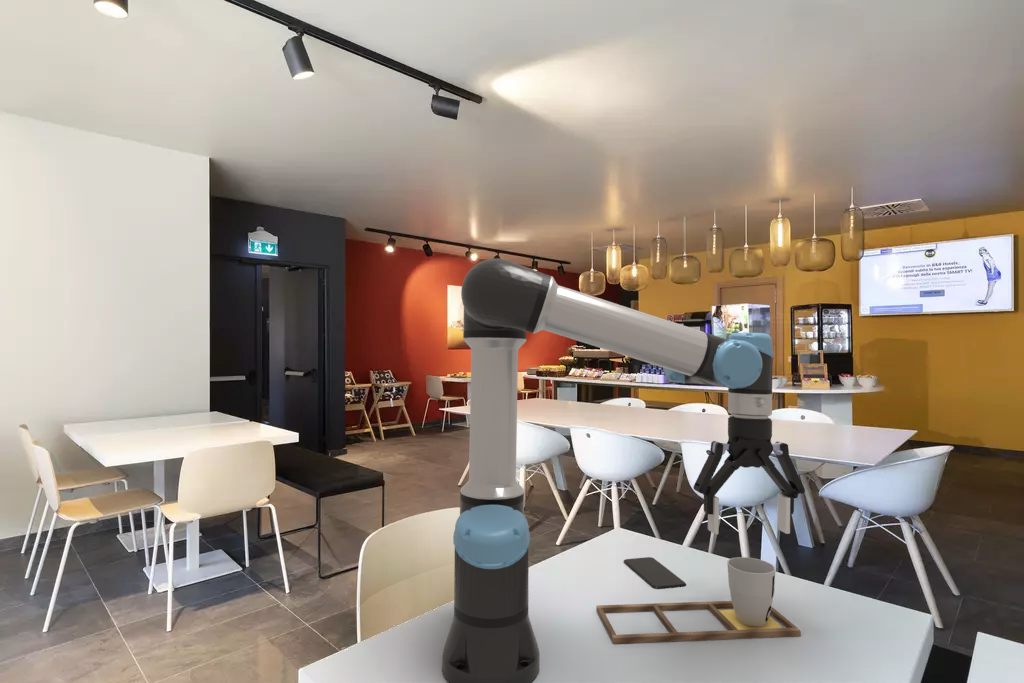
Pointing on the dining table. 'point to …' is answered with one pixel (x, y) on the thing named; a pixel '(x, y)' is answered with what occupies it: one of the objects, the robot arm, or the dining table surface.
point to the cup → (751, 589)
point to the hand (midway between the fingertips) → (748, 531)
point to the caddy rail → (724, 616)
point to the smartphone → (654, 573)
